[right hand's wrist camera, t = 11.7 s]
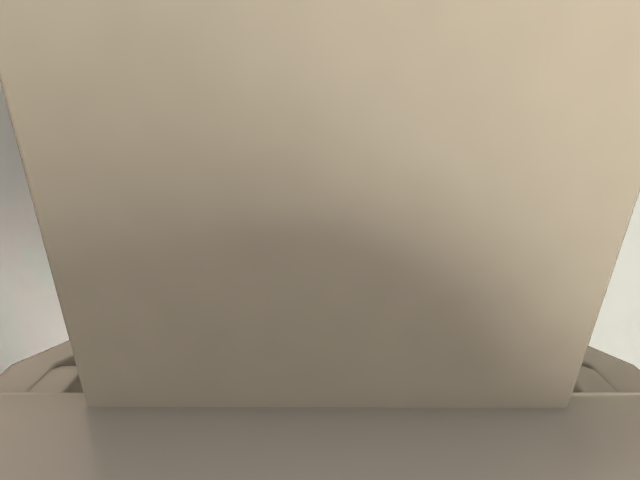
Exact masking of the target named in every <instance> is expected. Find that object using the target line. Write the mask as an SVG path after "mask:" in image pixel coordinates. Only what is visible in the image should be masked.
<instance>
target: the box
mask: <svg viewBox="0 0 640 480" xmlns="http://www.w3.org/2000/svg"><path fill="white" fill-rule="evenodd" d="M0 80H1V84H2V88H3V92H4V95H5V99H6V103H7V107H8V111H9V114H10V118H11V122H12V126H13V129H14V133H15V137H16V141H17V144H18V148H19V152H20V156H21V159H22V163H23V167H24V171H25V174H26V178H27V182H28V186H29V189H30V193H31V197H32V201H33V205H34V208H35V212H36V216H37V220H38V223H39V227H40V231H41V235H42V238H43V242H44V246H45V250H46V253H47V257H48V261H49V265H50V268H51V272H52V276H53V280H54V283H55V287H56V291H57V295H58V299H59V302H60V306H61V310H62V314H63V317H64V321H65V325H66V329H67V332H68V336H69V340H70V344H71V347H72V351H73V355H74V359H75V362H76V366H77V370H78V374H79V377H80V381H81V385H82V389H83V393H84V396H85V400H86V404H87V406H89V407H253V408H566V407H568V404H569V401H570V398H571V395H572V392H573V389H574V386H575V383H576V380H577V377H578V374H579V371H580V368H581V365H582V362H583V359H584V356H585V353H586V350H587V347H588V344H589V341H590V338H591V335H592V332H593V329H594V326H595V323H596V320H597V317H598V314H599V311H600V308H601V305H602V302H603V299H604V296H605V293H606V290H607V287H608V284H609V281H610V278H611V275H612V272H613V269H614V266H615V264H616V261H617V258H618V255H619V252H620V249H621V246H622V243H623V240H624V237H625V234H626V231H627V228H628V225H629V222H630V219H631V216H632V213H633V210H634V207H635V204H636V201H637V198H638V195H639V192H640V0H0Z"/></svg>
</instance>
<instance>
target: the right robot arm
mask: <svg viewBox="0 0 640 480" xmlns="http://www.w3.org/2000/svg"><path fill="white" fill-rule="evenodd" d="M0 480H640V370H639V369H638V368H637V367H635V366H634V365H632V364H630V363H627V362H625V361H623V360H620V359H618V358H616V357H613V356H611V355H609V354H606V353H604V352H602V351H599V350H597V349H594V348H592V347H590V346H588V347H587V350H586V353H585V356H584V359H583V362H582V365H581V368H580V371H579V374H578V377H577V380H576V383H575V386H574V389H573V392H572V395H571V398H570V401H569V404H568V407H566V408H253V407H89V406H87V404H86V400H85V396H84V393H83V389H82V385H81V381H80V377H79V374H78V370H77V366H76V362H75V359H74V355H73V351H72V347H71V344H70V340H69V341H66V342H64V343H62V344H59V345H57V346H55V347H52V348H50V349H48V350H45V351H43V352H41V353H38V354H36V355H34V356H31V357H29V358H27V359H24V360H22V361H20V362H17V363H15V364H13V365H11V366H10V367H9V368H8V369H6V370H5V371H4V372H3V373H2V374H0Z"/></svg>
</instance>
